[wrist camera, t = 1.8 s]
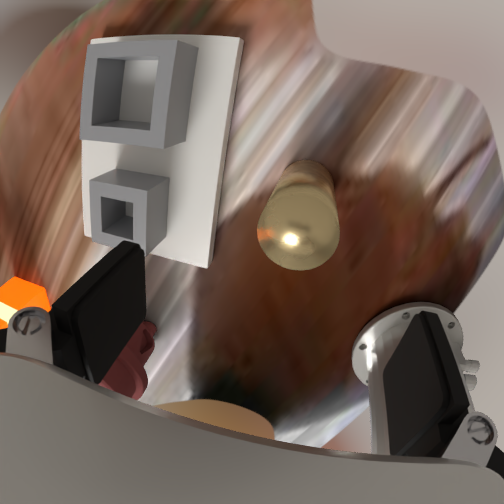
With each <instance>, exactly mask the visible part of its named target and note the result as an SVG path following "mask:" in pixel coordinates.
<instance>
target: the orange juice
mask: <svg viewBox="0 0 504 504" xmlns="http://www.w3.org/2000/svg"><path fill="white" fill-rule="evenodd" d="M30 306H36V307H41V308H43V309H45V310H46V311H47V312H49V311H50V310H51V308H50V305H49V301H48V298H47V294H46V291H45V288H44V287H41V286H38V285H36V284H33V283H30V282H28V281H25V280H22V279H20V278H17V277H15V276H14V277H13V278H12V279H10V280H9V281H8V282H7V283H5V284H4V285H3V286H2V287H0V329H3V328H8V323H9V320H10V318H11V317H12V315H13V314H14V313H16V312H17V311H18V310H20V309H22V308H26V307H30Z"/></svg>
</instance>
